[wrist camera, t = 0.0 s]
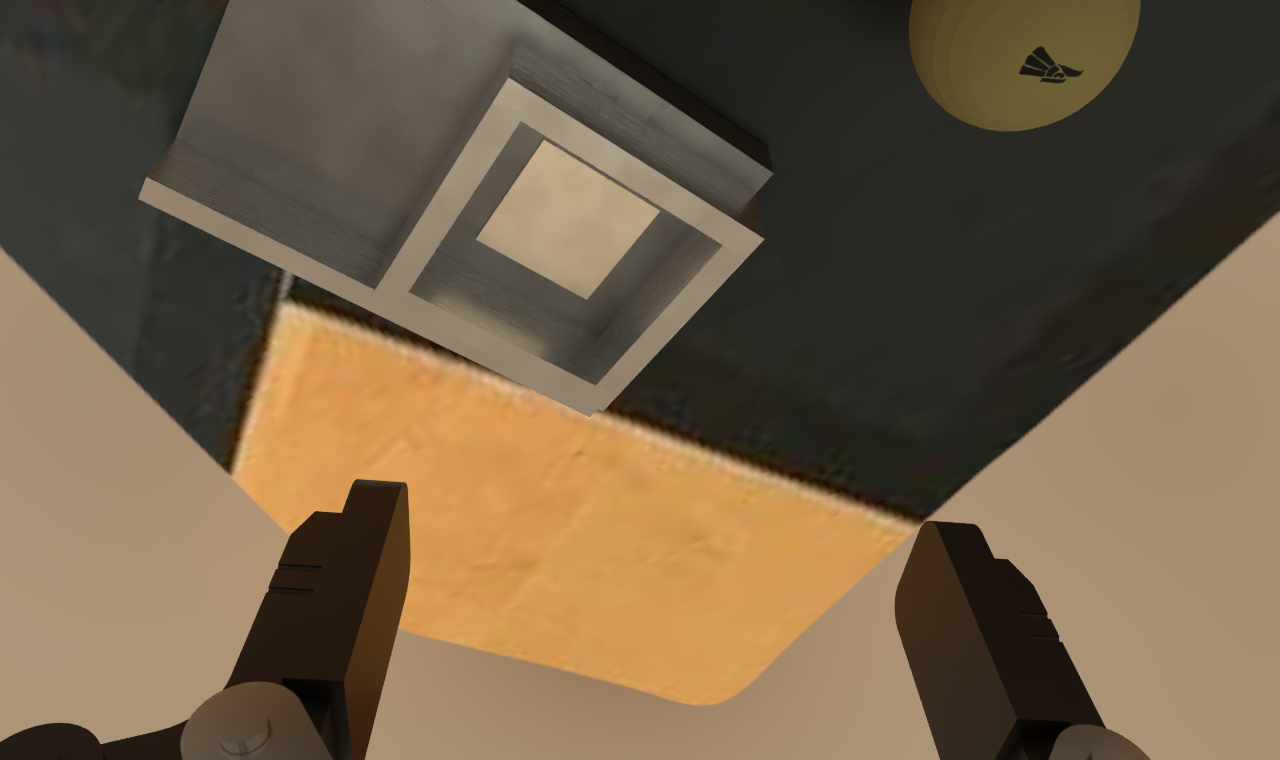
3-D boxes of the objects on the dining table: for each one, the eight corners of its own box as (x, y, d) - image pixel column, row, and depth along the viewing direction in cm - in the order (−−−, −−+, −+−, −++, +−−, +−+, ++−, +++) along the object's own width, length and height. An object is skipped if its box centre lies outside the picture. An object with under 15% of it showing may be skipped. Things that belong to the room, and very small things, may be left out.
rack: (307, -168, 27) (256, -125, 23) (767, 146, 34) (783, 218, 30) (187, 135, 34) (132, 206, 30) (593, 346, 41) (589, 425, 37)
